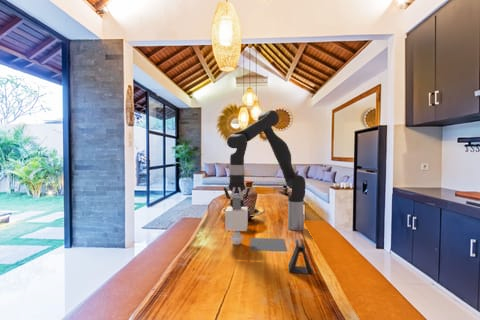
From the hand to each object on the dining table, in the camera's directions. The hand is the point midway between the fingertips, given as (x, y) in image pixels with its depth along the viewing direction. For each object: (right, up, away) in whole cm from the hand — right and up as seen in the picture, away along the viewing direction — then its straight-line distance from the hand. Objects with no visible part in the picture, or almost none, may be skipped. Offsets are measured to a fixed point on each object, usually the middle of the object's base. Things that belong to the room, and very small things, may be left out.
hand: (236, 206), depth 138 cm
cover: (0, -11, 0) cm, 11 cm away
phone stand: (+26, -21, -29) cm, 44 cm away
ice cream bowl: (+3, -18, +31) cm, 36 cm away
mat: (+16, -19, 0) cm, 25 cm away
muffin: (0, -20, +1) cm, 20 cm away
